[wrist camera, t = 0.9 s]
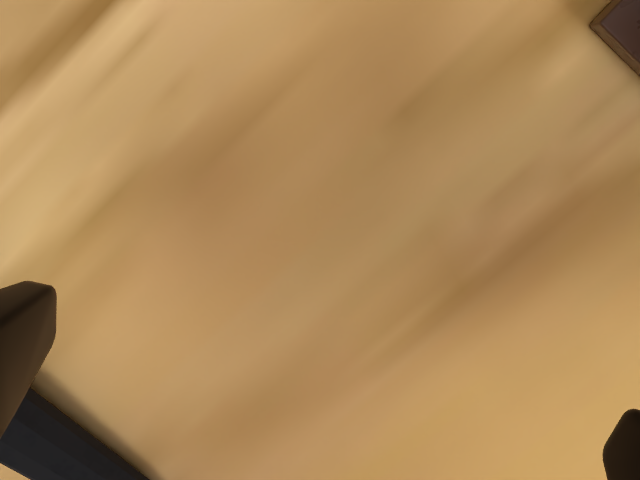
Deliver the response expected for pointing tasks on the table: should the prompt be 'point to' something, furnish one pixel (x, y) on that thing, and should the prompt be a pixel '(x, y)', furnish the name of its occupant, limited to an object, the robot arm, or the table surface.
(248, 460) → the table surface
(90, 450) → the microphone
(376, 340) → the table surface
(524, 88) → the table surface
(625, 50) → the rack
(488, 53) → the table surface
